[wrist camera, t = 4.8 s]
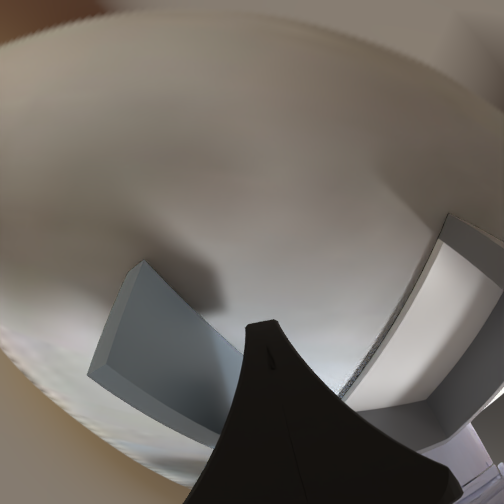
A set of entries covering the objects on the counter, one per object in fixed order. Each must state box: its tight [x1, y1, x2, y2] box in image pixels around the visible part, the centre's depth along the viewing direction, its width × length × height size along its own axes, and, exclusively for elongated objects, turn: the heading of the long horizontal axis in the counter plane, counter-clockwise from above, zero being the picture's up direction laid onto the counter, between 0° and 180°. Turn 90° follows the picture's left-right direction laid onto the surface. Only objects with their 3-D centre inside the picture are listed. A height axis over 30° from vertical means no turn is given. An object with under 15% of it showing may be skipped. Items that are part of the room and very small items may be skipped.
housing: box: [341, 213, 504, 454], centre depth 12 cm, size 14×10×4 cm
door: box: [87, 260, 243, 449], centre depth 10 cm, size 14×2×4 cm, turn 34°
